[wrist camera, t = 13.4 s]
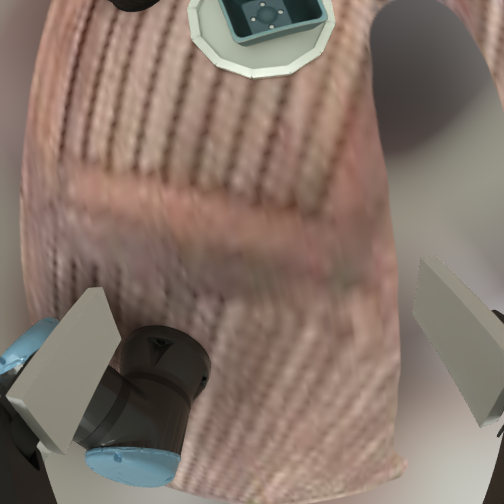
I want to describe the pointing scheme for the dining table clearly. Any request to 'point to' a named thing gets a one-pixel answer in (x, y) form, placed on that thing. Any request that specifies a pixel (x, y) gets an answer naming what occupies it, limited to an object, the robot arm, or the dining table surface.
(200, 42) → the saucer
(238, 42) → the flower pot
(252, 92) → the dining table surface
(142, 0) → the aerosol can
